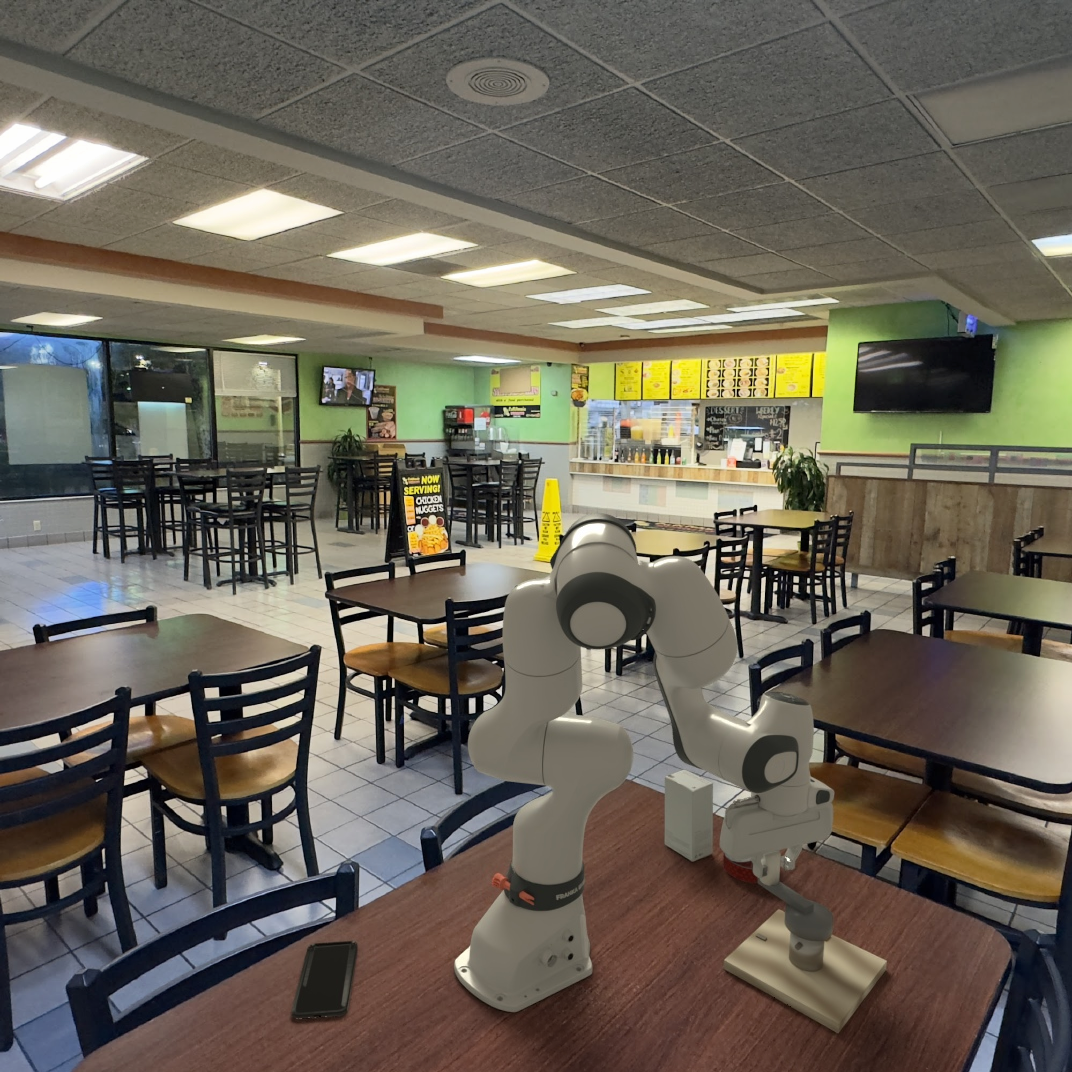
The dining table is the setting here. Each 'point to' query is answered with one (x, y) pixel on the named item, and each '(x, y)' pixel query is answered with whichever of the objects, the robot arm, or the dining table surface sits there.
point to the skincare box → (689, 815)
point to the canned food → (740, 869)
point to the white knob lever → (797, 905)
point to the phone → (325, 980)
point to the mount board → (807, 971)
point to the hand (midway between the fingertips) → (773, 871)
